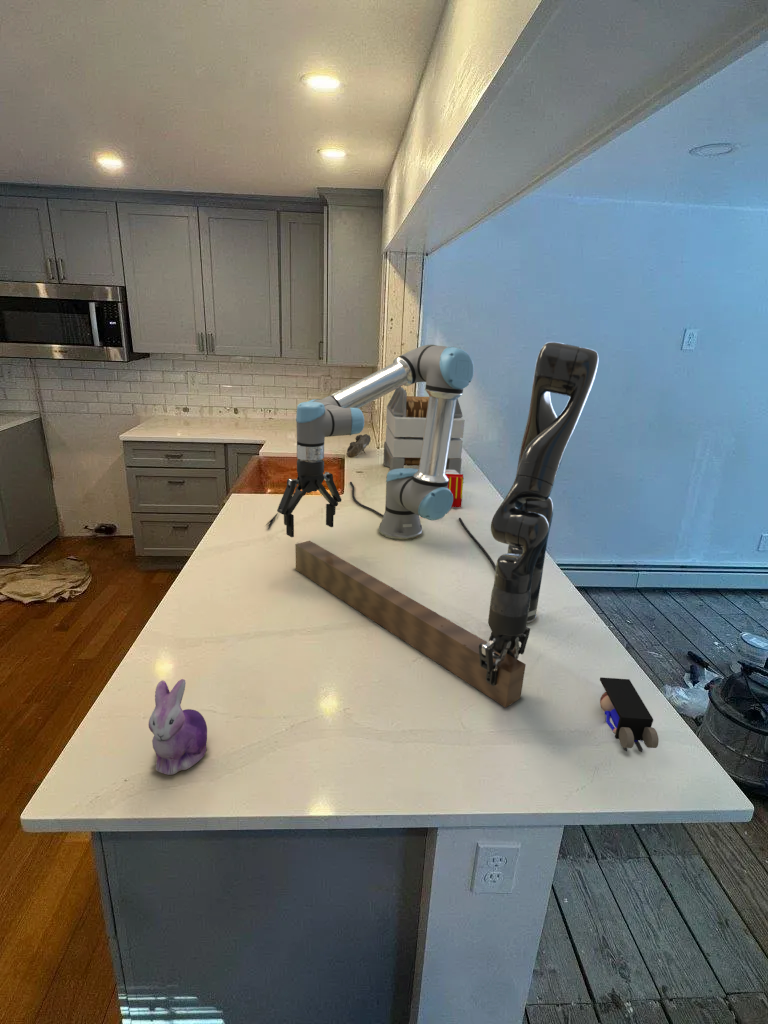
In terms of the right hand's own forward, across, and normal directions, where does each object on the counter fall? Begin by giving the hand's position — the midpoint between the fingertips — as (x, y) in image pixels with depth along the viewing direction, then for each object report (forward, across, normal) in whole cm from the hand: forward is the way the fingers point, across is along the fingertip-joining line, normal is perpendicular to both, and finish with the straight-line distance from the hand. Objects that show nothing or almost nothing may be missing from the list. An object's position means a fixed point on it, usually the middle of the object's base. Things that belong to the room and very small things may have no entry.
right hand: (499, 678), depth 117 cm
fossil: (+4, +102, +177) cm, 204 cm away
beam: (+4, 0, +35) cm, 35 cm away
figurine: (+4, -58, +23) cm, 63 cm away
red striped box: (+4, +87, +98) cm, 131 cm away
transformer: (+4, +103, +131) cm, 167 cm away
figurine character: (+4, +10, -22) cm, 25 cm away
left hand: (-10, 0, +70) cm, 71 cm away
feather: (+4, +16, +117) cm, 118 cm away
